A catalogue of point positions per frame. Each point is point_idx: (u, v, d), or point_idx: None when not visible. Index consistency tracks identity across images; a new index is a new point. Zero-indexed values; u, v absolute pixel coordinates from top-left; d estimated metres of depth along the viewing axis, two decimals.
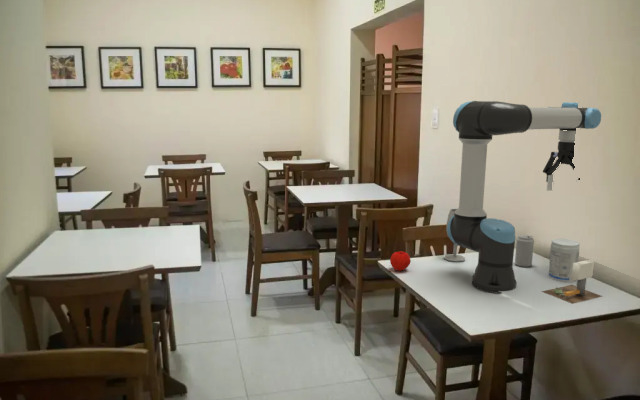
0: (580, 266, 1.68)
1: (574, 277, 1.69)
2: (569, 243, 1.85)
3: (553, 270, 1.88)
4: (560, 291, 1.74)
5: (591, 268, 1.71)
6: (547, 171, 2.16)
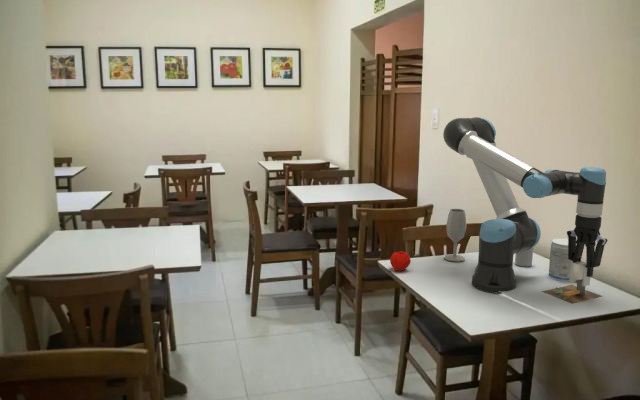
0: (580, 266, 1.68)
1: (574, 277, 1.69)
2: None
3: (553, 270, 1.88)
4: (560, 291, 1.74)
5: None
6: (573, 259, 1.73)
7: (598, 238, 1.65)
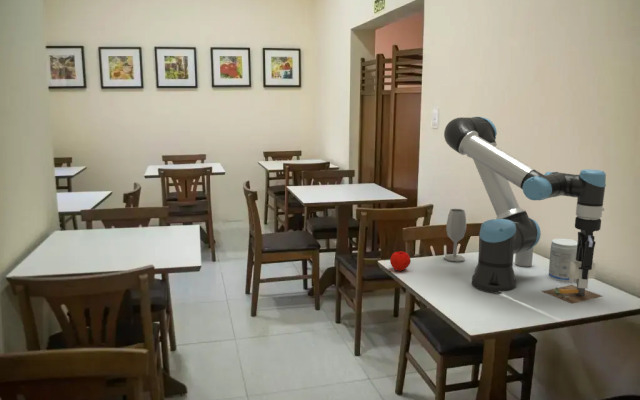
0: (576, 265, 1.69)
1: (570, 275, 1.71)
2: (569, 243, 1.85)
3: (553, 270, 1.88)
4: None
5: (592, 269, 1.70)
6: (577, 259, 1.74)
7: (588, 240, 1.65)
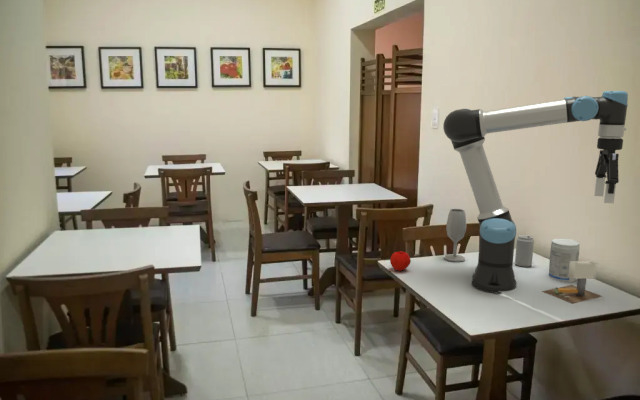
0: (575, 265, 1.70)
1: (569, 275, 1.71)
2: (569, 243, 1.85)
3: (553, 270, 1.88)
4: None
5: (592, 270, 1.70)
6: (596, 173, 1.84)
7: None
